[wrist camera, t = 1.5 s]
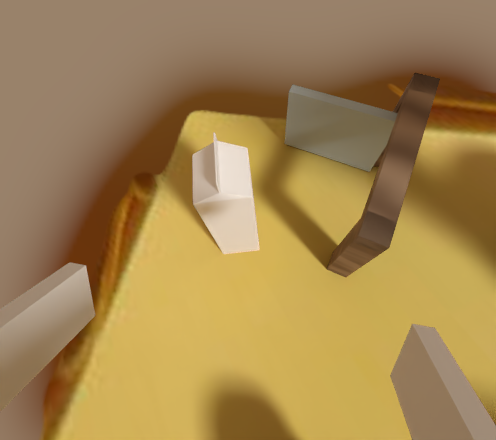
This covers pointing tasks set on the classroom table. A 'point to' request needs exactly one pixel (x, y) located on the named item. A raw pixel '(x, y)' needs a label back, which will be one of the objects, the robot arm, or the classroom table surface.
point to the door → (337, 127)
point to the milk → (225, 196)
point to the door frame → (388, 180)
